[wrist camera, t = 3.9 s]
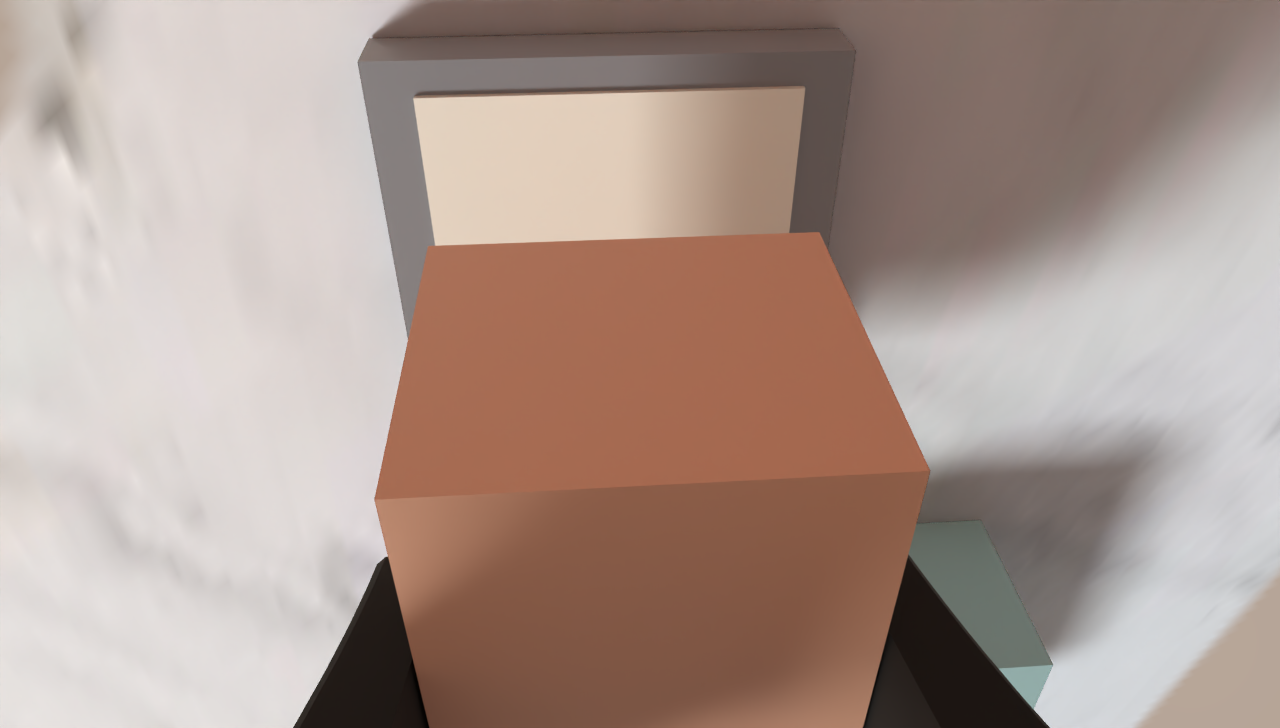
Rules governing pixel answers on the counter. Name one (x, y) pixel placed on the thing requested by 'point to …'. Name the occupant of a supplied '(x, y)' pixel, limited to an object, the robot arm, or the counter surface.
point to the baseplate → (603, 137)
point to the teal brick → (983, 599)
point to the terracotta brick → (645, 486)
